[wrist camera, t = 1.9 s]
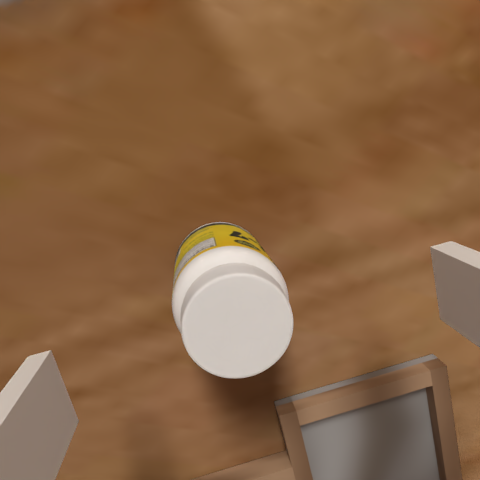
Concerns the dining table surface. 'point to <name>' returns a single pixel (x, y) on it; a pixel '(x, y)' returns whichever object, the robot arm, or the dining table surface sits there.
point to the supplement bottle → (230, 302)
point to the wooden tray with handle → (365, 430)
